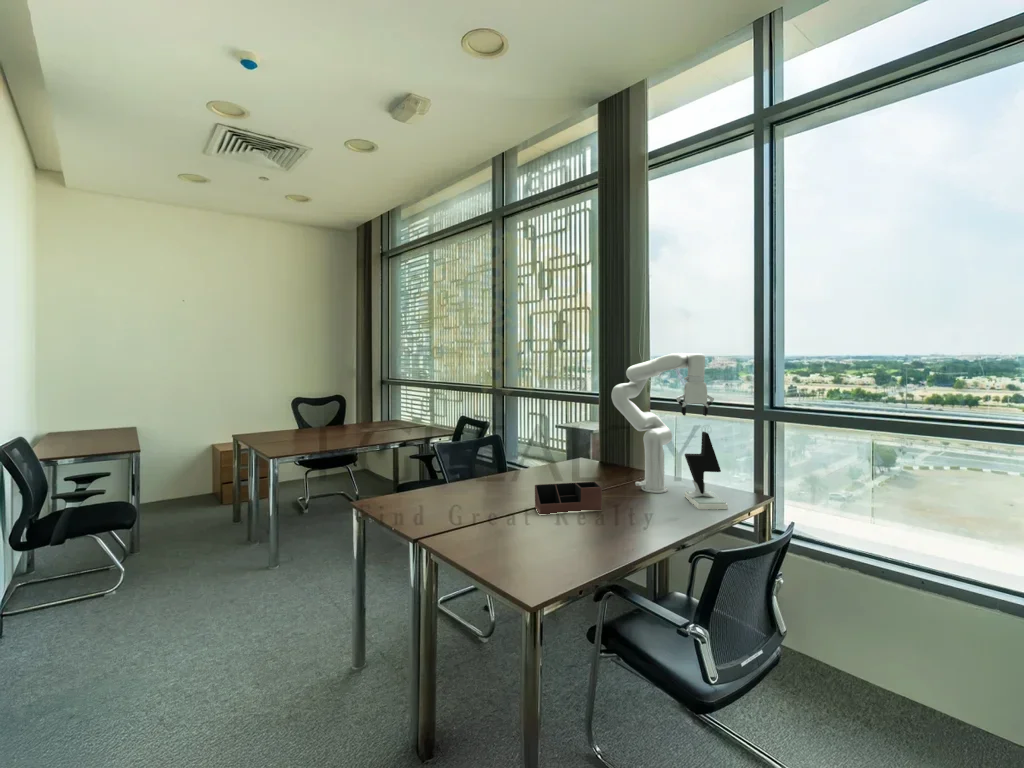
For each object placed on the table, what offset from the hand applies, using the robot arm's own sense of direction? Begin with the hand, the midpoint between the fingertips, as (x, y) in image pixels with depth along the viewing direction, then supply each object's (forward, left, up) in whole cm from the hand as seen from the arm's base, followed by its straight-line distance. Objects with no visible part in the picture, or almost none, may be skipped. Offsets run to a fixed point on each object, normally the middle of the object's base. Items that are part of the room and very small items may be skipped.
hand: (694, 415), depth 233 cm
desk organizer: (-61, -19, -41) cm, 76 cm away
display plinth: (+3, -9, -40) cm, 41 cm away
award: (+1, -8, -37) cm, 38 cm away
